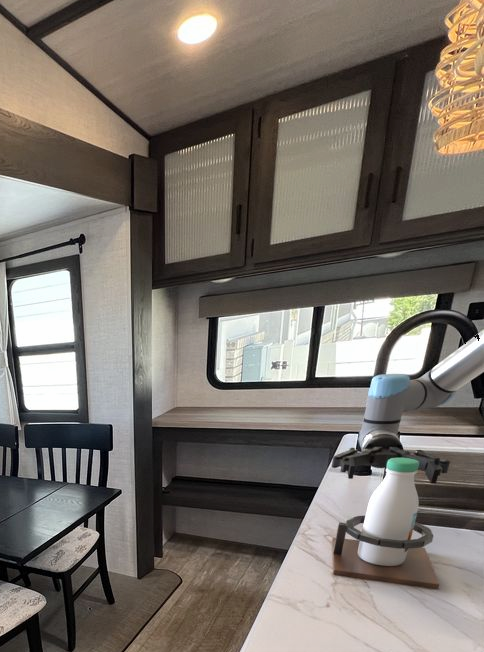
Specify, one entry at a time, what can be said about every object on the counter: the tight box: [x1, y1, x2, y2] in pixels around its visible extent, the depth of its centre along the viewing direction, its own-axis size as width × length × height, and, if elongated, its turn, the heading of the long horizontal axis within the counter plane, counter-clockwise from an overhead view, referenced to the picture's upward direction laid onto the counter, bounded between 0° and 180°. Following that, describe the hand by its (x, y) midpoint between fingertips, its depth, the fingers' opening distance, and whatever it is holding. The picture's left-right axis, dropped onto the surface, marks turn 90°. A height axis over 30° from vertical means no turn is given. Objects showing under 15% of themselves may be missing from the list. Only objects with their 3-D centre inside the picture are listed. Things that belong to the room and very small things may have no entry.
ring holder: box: [331, 514, 441, 590], centre depth 91 cm, size 16×16×8 cm
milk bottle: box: [358, 458, 420, 566], centre depth 89 cm, size 8×8×20 cm
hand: (392, 474), depth 94 cm, fingers open, 13 cm apart
